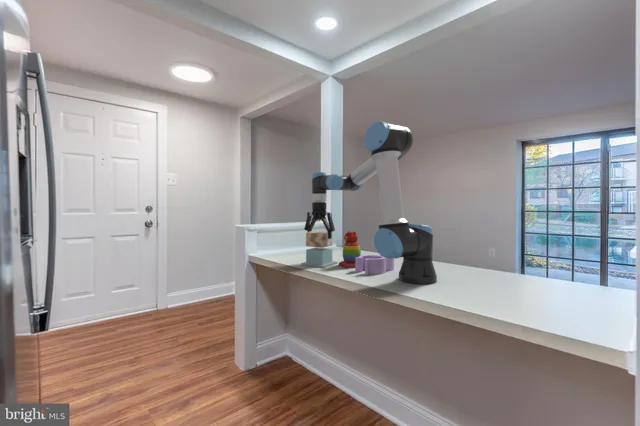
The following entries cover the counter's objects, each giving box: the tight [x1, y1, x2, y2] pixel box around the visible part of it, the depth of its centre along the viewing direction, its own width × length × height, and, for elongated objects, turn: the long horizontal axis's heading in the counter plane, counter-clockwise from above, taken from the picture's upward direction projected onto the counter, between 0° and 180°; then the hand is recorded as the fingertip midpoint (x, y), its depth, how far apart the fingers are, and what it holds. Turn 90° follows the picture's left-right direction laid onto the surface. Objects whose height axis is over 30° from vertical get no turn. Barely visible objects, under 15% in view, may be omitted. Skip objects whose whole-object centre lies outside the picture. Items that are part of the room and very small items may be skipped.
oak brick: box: [305, 231, 333, 248], centre depth 166 cm, size 10×10×7 cm
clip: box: [354, 253, 395, 276], centre depth 150 cm, size 20×12×7 cm, turn 126°
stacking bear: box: [338, 230, 362, 269], centre depth 162 cm, size 11×10×18 cm
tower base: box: [300, 247, 338, 269], centre depth 166 cm, size 14×14×8 cm
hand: (319, 244), depth 166 cm, fingers closed on oak brick, 10 cm apart
